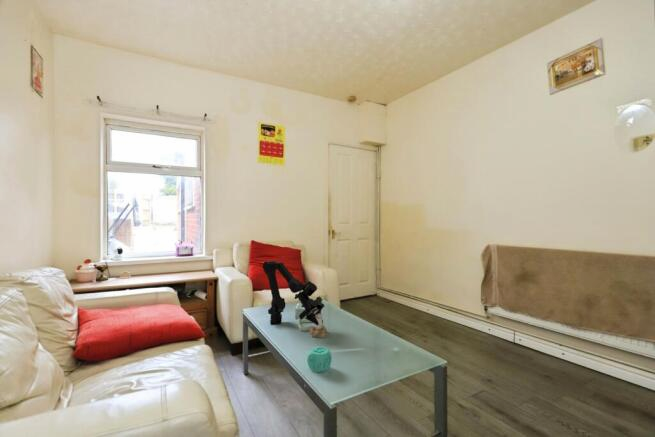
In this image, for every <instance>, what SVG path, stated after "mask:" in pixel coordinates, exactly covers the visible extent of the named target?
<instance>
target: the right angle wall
mask: <svg viewBox="0 0 655 437" xmlns="http://www.w3.org/2000/svg"><path fill="white" fill-rule="evenodd" d="M294 310H295V315H294V316H295V317H294V319H295V320H297V319H300V318H299V315H300V314H301V313H302V312H303V311H304V310H305V308H304V307H302V308H301V307H300V303H299V302H298V303H296V307H295V309H294ZM305 318H306V316H305V317H304V319H305Z"/></svg>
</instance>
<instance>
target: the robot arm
mask: <svg viewBox="0 0 655 437" xmlns="http://www.w3.org/2000/svg"><path fill="white" fill-rule="evenodd" d="M262 269H263V272H264V273H265V275H266V276H267V279H268V285H269V288H270V292H271V297H272V300H271V302H270V304H271V305H270V306H271V307H270V308H269V309H268V310H267V312H268V315H270V322H269V324H270V325H281V324H282V321H283V318H282V316H283V314H282V313H283V312H284V310H285V308H286V300H285V298H284V297H283V298H282V296H281V295H280V294H281V292H280V289H279V284H278V280H277V276H276V273H277V270H278V272H279V274H281V276H282V277H283V278H284V280H285V281H286V282H287V284H288V288H289V290H290V291H291V293H292V294H294V295H295V296H294V299H295V300H297V299H298V300H299V302H300V303H301V307H302V308H305V310H304V311H303V312H302V313H301V314H300V315H299V318H300V319H301V320H302V319H304V317H305V316H306V318H305V319H307V320H309V321H311V322H310V323H312V324H314V325H315V324H316V325H319V323H318V321H317V319H316V318H315V314H317V313H320V314H322V310H323V309H324V307H325V304H324V303H323V299H322V297H321V296H320V295H319V296H318V297H316V299H313V298H310V297H311V296H312V295H313V294H315V292H316V291H317V290H318V286H317V285H316V284H315V283H314V282H312V281H308V282H306V284H303V282H301V281H300V280H299V279H298V278H296V277H294V275H293V274H292V273H291V272H290V270H289V269H288V268H287V267H286V265H285V263H284V262H282V261H280V262H279V261H275V260H269V261H267V260H266V261H264V262H263V264H262ZM301 307H300V308H301ZM323 323H324V319H323V318H322V324H323Z"/></svg>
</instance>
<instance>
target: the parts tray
mask: <svg viewBox="0 0 655 437" xmlns="http://www.w3.org/2000/svg"><path fill="white" fill-rule="evenodd" d="M296 323H297V326H298V330H299V332H300V331H301V332H302V331H307V332H308V331H310V326H311V325H309V326H301V324H302V323H312V322H311V321H309V320H307V319H302V320H301V319H296Z"/></svg>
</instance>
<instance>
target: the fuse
mask: <svg viewBox="0 0 655 437" xmlns="http://www.w3.org/2000/svg"><path fill="white" fill-rule="evenodd" d="M315 318H316V319H317V321H318V323H319V325H316V324H314V326H315V331H318V330H322V326H323V323H322V319H323V314H322V313H321V314H320V313H317V314H315Z"/></svg>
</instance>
